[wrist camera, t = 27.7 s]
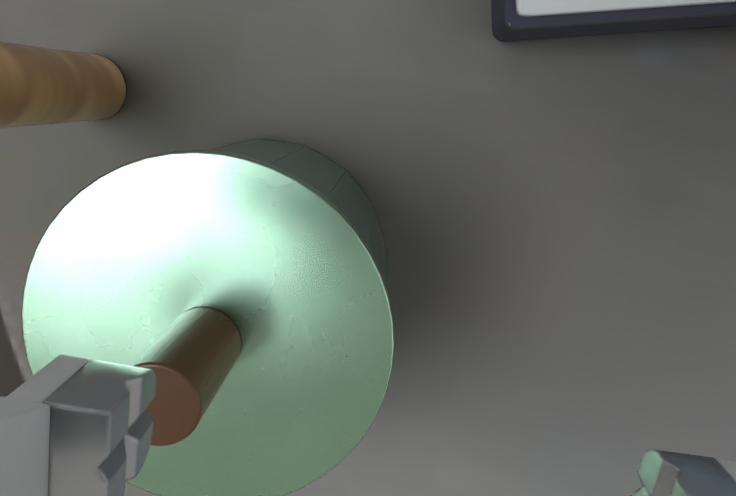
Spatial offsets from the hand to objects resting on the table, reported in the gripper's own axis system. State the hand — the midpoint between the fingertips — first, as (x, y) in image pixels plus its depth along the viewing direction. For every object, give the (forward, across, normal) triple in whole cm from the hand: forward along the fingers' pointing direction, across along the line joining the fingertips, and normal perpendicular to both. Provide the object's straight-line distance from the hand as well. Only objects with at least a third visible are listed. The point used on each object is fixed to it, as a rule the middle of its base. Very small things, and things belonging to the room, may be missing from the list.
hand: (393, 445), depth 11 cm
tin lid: (+10, +6, +3) cm, 12 cm away
